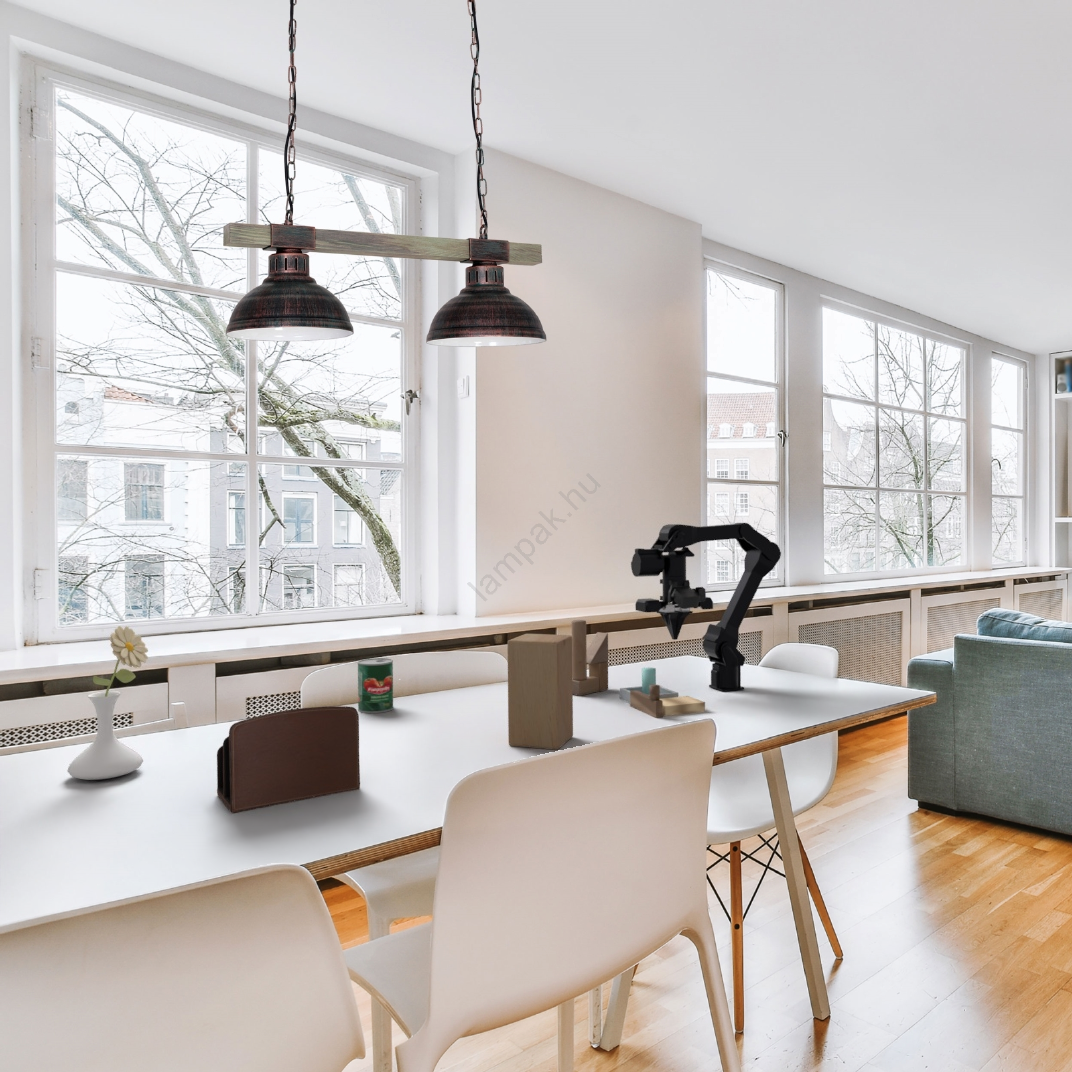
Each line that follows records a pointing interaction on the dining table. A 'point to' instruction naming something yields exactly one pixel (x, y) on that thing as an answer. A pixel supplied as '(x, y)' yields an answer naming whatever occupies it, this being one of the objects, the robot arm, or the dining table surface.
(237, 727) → the letter holder
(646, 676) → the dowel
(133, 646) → the flower in vase
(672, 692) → the tray
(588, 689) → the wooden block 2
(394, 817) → the dining table surface
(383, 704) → the canned tomato
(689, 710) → the board
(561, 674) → the wooden block
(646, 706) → the rail
